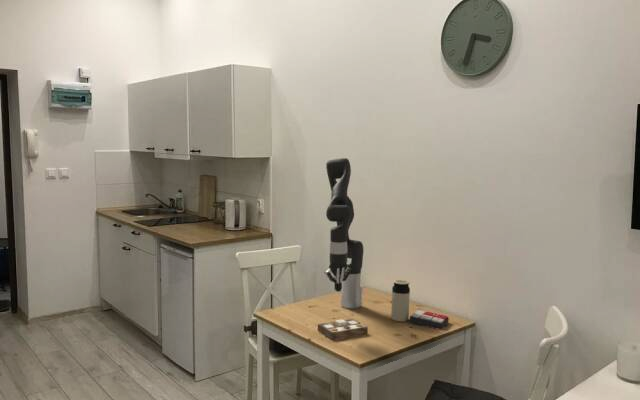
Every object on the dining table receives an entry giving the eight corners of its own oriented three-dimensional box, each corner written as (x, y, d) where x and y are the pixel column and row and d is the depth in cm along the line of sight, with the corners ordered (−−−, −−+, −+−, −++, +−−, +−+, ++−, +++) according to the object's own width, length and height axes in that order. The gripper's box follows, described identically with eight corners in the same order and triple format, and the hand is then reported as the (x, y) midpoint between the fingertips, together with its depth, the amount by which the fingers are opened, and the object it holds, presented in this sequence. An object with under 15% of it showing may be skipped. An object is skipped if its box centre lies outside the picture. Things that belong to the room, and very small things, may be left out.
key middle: (342, 324, 232) (342, 319, 232) (346, 327, 229) (346, 321, 228) (335, 326, 230) (335, 320, 230) (339, 328, 227) (339, 322, 227)
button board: (352, 325, 238) (352, 318, 237) (367, 333, 227) (367, 326, 227) (317, 330, 229) (317, 323, 229) (331, 340, 219) (331, 332, 218)
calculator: (442, 322, 235) (409, 314, 242) (441, 331, 236) (408, 323, 243) (449, 315, 245) (417, 308, 252) (448, 324, 245) (416, 317, 252)
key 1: (330, 329, 229) (330, 324, 229) (334, 332, 226) (334, 326, 226) (322, 331, 227) (323, 325, 227) (327, 333, 224) (327, 327, 224)
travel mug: (408, 322, 243) (409, 284, 242) (390, 321, 245) (392, 282, 243) (408, 317, 251) (410, 279, 249) (391, 316, 253) (393, 278, 251)
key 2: (353, 326, 235) (354, 320, 235) (358, 328, 232) (358, 322, 231) (346, 327, 233) (347, 321, 233) (351, 329, 230) (351, 324, 230)
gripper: (346, 248, 234) (346, 286, 236) (320, 251, 228) (320, 290, 230) (356, 251, 228) (355, 291, 230) (329, 254, 221) (329, 295, 223)
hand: (338, 291), depth 230 cm, fingers closed
